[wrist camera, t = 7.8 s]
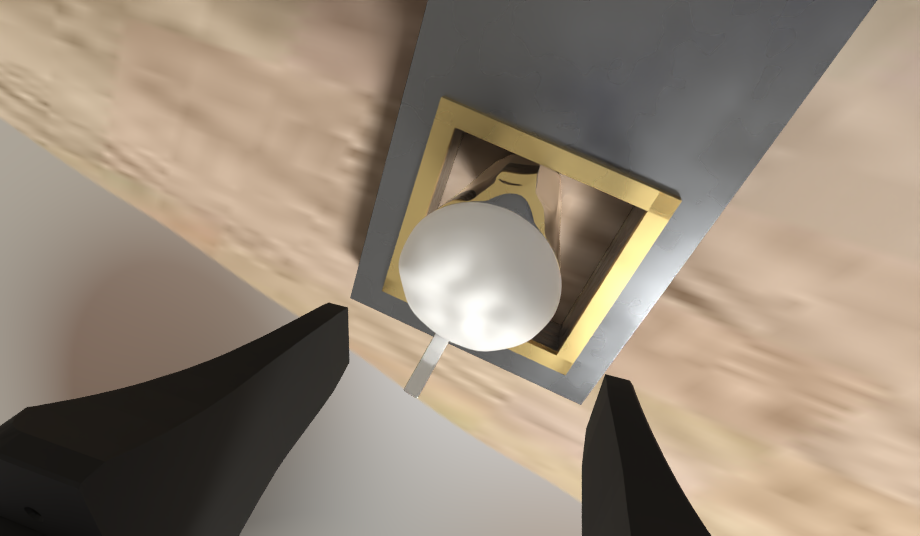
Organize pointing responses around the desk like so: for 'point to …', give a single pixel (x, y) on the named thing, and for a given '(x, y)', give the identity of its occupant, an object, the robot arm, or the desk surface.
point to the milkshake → (486, 263)
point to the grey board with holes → (599, 137)
